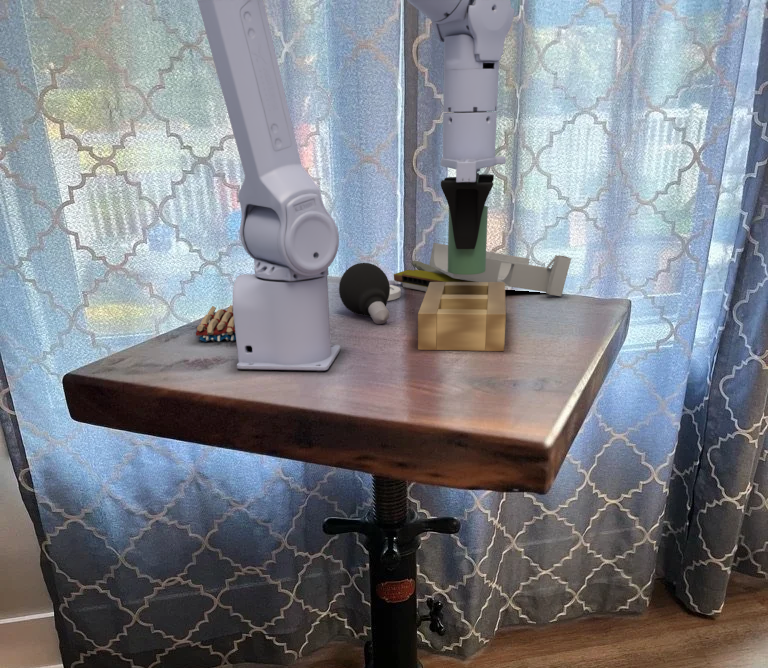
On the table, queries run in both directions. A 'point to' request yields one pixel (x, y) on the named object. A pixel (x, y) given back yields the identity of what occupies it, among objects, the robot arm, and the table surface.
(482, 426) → the table surface
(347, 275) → the light bulb
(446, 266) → the skate ramp
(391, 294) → the pendant
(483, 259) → the bottle
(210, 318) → the woven mat
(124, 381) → the table surface
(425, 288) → the harmonica
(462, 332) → the hole block
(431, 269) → the stone
